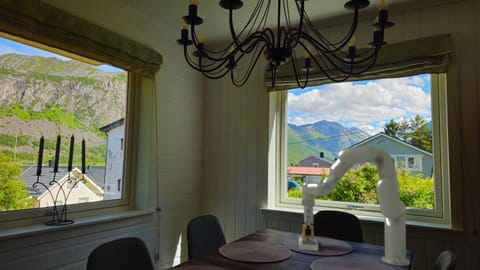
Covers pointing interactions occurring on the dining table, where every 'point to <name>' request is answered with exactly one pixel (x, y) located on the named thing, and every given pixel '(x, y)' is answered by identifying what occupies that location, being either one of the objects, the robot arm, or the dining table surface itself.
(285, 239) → the dining table surface
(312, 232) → the breaker lever
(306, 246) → the breaker panel
